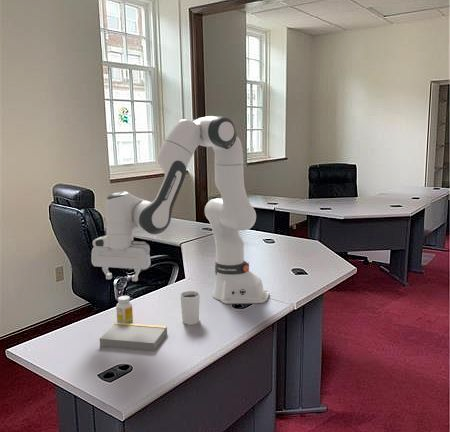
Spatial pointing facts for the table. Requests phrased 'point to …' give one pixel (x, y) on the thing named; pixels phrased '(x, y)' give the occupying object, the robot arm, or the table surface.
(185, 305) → the white coffee cup
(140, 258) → the robot arm
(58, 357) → the table surface
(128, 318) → the supplement bottle
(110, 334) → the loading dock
